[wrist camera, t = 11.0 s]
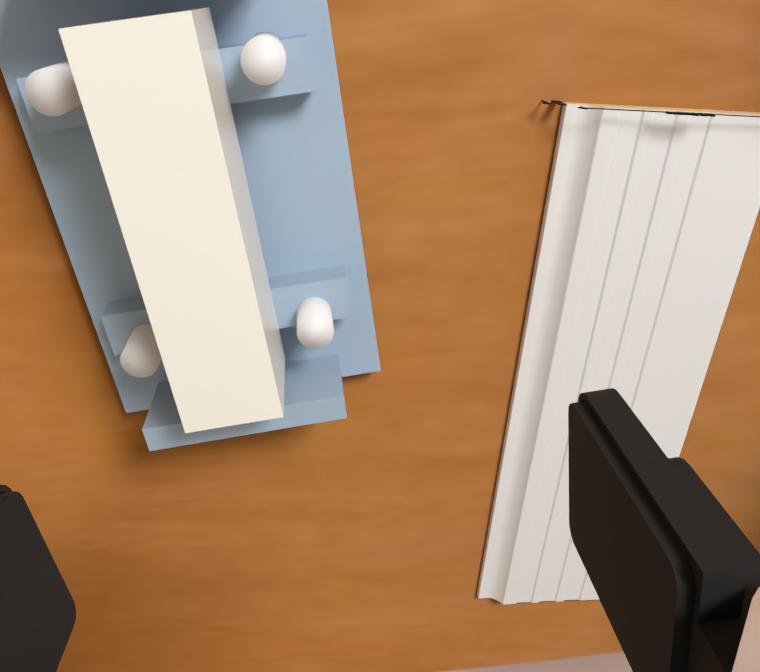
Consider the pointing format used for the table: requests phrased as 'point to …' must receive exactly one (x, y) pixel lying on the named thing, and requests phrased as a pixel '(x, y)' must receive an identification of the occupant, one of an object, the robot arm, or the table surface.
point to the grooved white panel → (617, 310)
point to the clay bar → (184, 209)
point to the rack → (265, 182)
